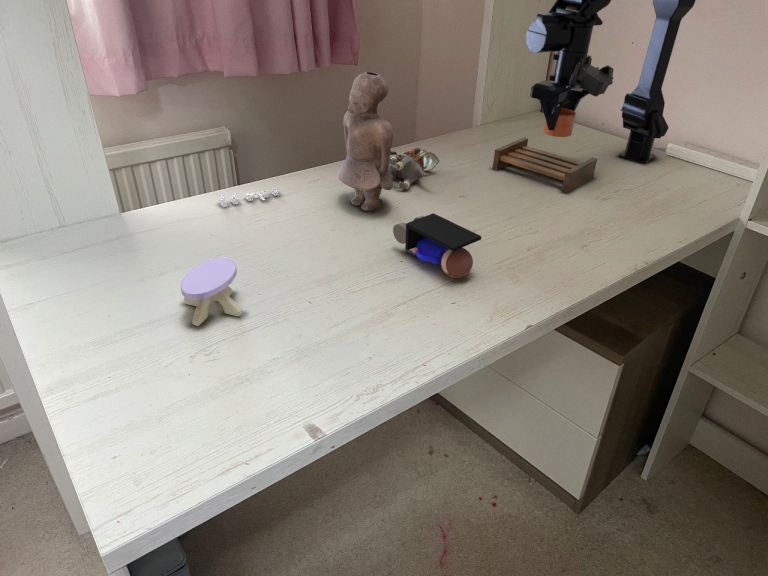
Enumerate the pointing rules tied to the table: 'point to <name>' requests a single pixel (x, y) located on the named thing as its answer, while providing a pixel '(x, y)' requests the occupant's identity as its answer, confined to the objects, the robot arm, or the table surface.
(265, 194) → the figurines set
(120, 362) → the table surface
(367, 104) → the clay figurine
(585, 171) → the rack
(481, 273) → the table surface
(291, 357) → the table surface
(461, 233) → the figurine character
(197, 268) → the toy table
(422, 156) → the figurine
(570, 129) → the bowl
